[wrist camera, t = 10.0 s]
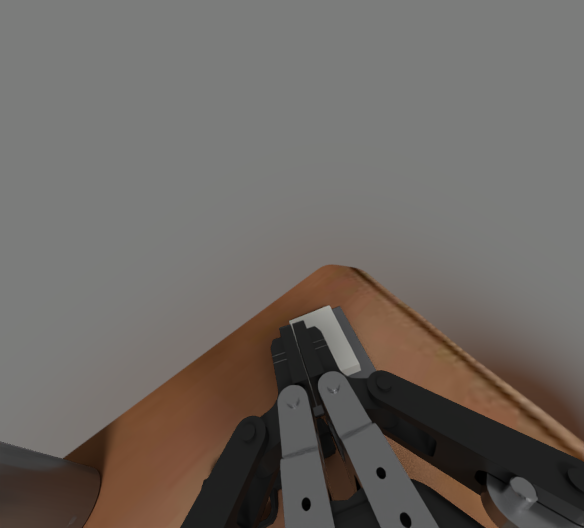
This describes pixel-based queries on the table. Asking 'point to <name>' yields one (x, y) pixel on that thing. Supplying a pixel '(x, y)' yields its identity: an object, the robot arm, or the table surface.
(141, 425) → the table surface
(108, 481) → the table surface
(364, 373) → the mat
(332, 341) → the tile
